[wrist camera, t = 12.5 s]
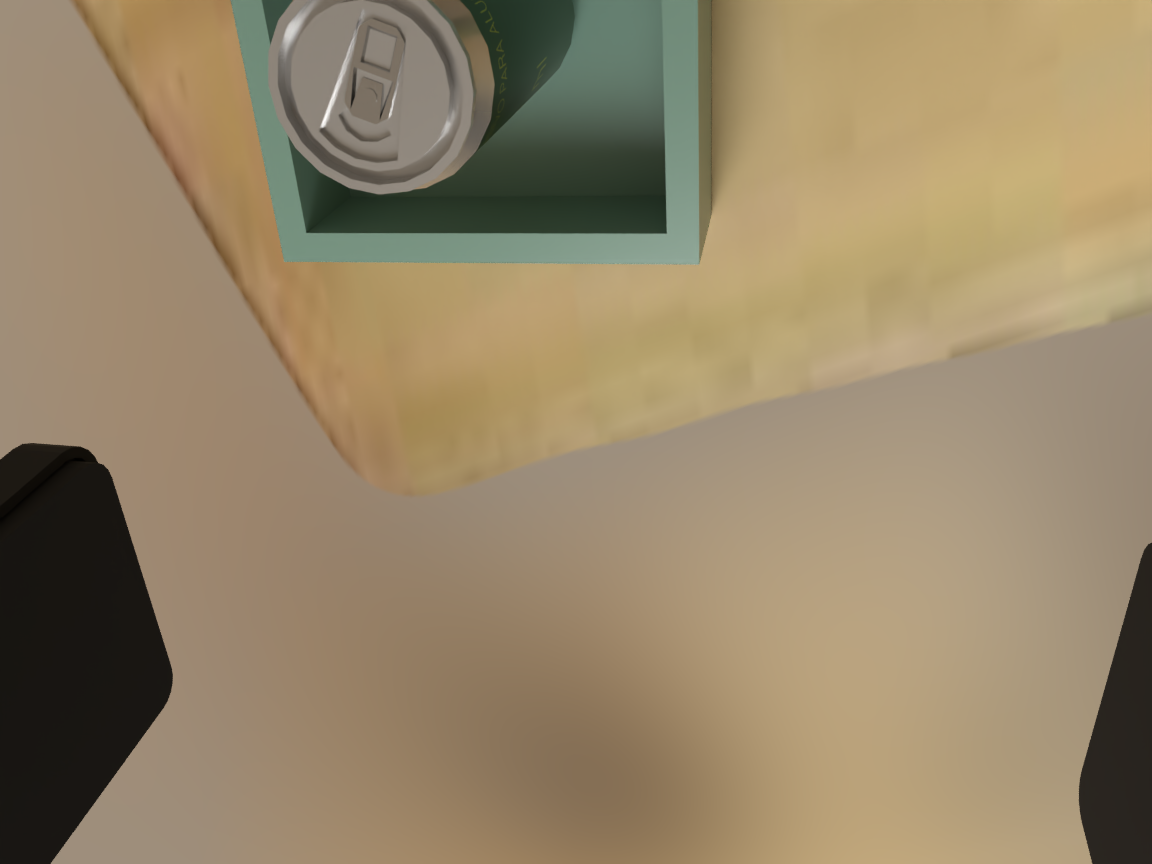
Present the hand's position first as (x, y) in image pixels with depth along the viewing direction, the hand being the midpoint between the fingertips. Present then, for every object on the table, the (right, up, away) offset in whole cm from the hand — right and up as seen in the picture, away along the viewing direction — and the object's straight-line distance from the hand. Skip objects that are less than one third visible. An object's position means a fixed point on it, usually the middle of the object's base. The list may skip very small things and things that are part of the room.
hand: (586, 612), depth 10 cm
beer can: (-3, +15, +25) cm, 29 cm away
